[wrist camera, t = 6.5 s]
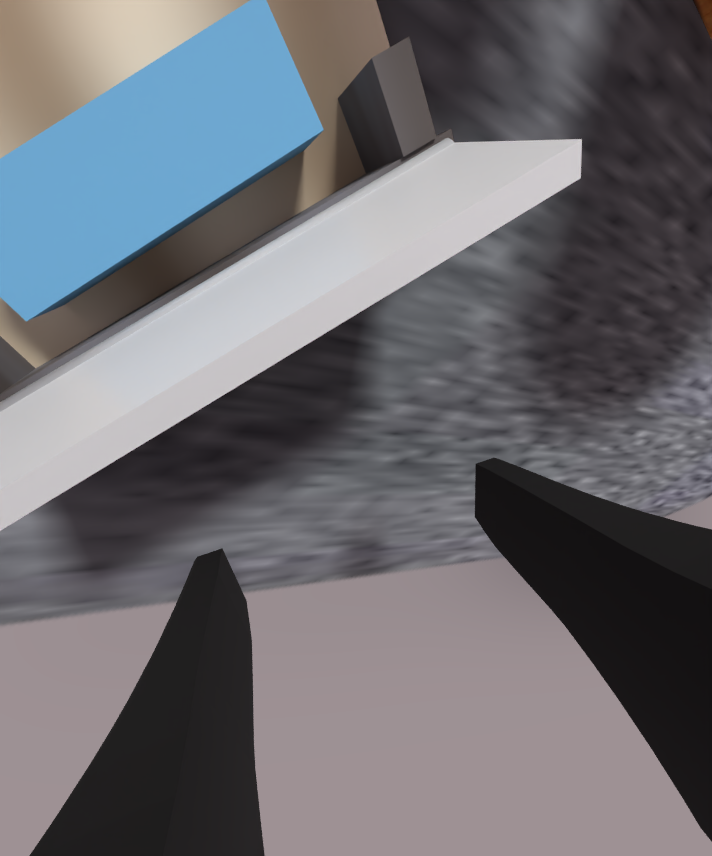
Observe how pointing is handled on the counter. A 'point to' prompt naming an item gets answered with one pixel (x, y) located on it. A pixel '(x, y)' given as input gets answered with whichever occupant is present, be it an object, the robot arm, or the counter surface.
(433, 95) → the counter surface
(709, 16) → the mug
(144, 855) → the robot arm
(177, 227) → the light blue rectangular box
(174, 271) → the board
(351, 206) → the plate
